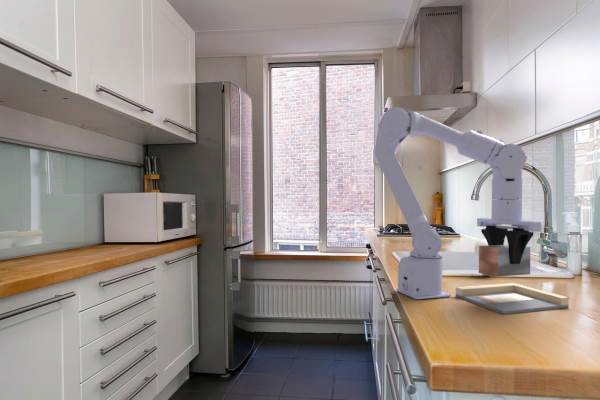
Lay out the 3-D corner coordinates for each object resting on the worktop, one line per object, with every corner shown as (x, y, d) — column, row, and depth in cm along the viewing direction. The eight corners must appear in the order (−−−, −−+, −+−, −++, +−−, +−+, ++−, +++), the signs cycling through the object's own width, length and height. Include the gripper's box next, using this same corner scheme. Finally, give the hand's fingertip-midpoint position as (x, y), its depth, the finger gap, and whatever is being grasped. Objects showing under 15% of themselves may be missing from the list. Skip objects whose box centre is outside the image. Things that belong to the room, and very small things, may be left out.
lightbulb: (477, 272, 105) (477, 237, 105) (500, 276, 101) (501, 238, 101) (472, 276, 100) (472, 238, 100) (496, 279, 96) (497, 240, 96)
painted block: (530, 274, 75) (530, 246, 75) (493, 276, 72) (493, 248, 72) (513, 270, 79) (514, 244, 79) (478, 272, 76) (478, 245, 76)
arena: (504, 314, 66) (504, 303, 66) (455, 296, 79) (455, 287, 79) (568, 307, 71) (568, 297, 71) (513, 291, 84) (513, 282, 84)
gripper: (552, 200, 70) (552, 267, 70) (493, 200, 84) (493, 255, 84) (526, 199, 68) (525, 268, 68) (470, 199, 82) (469, 256, 82)
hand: (505, 261), depth 75 cm, fingers closed on painted block, 4 cm apart
